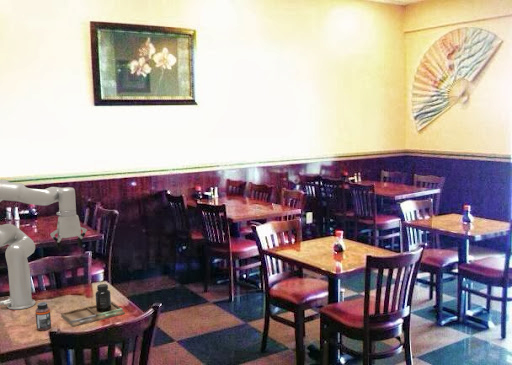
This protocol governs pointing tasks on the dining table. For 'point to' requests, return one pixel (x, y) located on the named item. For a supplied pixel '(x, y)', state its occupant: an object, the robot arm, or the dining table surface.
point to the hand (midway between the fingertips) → (69, 248)
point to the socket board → (90, 315)
